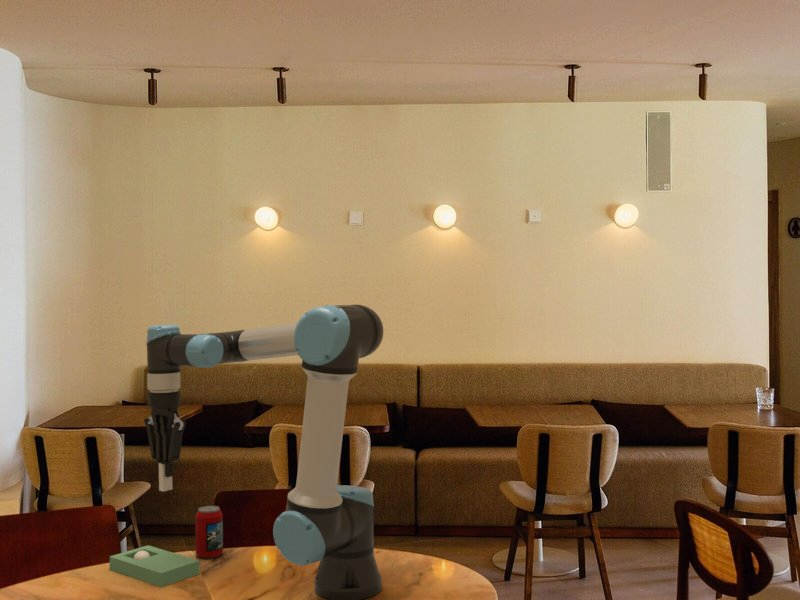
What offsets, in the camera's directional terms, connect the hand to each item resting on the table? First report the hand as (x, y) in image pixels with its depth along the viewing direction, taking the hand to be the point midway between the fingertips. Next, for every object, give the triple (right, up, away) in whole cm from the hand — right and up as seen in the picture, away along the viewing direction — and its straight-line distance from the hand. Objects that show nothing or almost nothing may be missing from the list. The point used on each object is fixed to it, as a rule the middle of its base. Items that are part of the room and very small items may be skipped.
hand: (165, 489), depth 201 cm
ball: (-7, -18, +6) cm, 20 cm away
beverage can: (+7, -20, +15) cm, 26 cm away
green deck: (-4, -20, +3) cm, 21 cm away
